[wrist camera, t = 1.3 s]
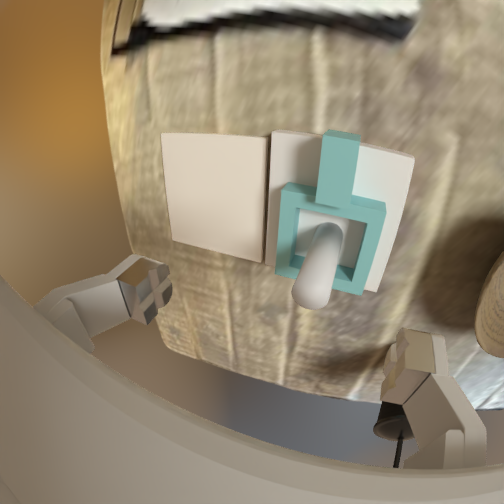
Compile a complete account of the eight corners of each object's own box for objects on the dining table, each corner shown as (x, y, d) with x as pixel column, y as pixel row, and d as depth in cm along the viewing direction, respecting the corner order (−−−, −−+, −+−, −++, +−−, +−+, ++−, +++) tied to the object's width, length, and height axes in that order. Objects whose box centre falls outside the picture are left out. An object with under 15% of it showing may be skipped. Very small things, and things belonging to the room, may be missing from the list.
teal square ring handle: (292, 124, 24) (280, 129, 21) (396, 143, 21) (402, 151, 18) (281, 261, 33) (270, 282, 30) (362, 281, 30) (360, 304, 27)
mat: (163, 132, 32) (160, 133, 31) (268, 137, 28) (266, 138, 27) (174, 238, 41) (172, 240, 40) (262, 260, 37) (261, 262, 36)
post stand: (277, 129, 27) (224, 153, 17) (411, 154, 23) (440, 195, 13) (270, 256, 36) (230, 320, 26) (376, 281, 32) (370, 359, 22)
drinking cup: (398, 369, 38) (381, 483, 22) (374, 346, 37) (350, 471, 22) (437, 351, 33) (434, 474, 18) (416, 325, 32) (410, 463, 17)
